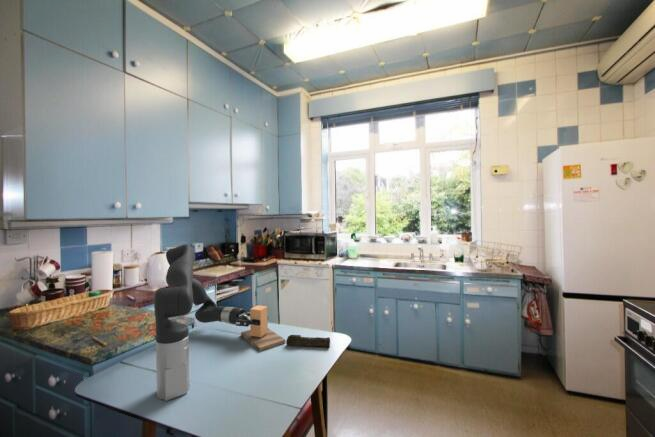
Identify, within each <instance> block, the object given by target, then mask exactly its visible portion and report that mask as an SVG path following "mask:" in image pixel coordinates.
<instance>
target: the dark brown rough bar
mask: <svg viewBox="0 0 655 437" xmlns="http://www.w3.org/2000/svg"><path fill="white" fill-rule="evenodd" d="M285 344H286V345H287V346H290V347H297V348H299V347H301V346H303V347H304V346H306V347H321V348H322V347H323V348H324V347H325V348H328V349H330V345H331V338H330V337H320V336H319V337H310V336H309V337H308V336H307V337H306V336H302V335H301V334H290V335H288V336H287V338H286V340H285Z"/></svg>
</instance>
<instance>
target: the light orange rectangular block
mask: <svg viewBox="0 0 655 437" xmlns="http://www.w3.org/2000/svg"><path fill="white" fill-rule="evenodd" d="M249 312H250V318H251V319H256V320H260V321H261V324H260V325H259V326H258V325H250V330H251V336H256V337H262V336H263V335H265V334H266V333H268V329H269V327H268V320H267V316H268V306H265V305H255V306H254V307H253V306H252V308H250V311H249Z"/></svg>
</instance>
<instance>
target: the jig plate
mask: <svg viewBox="0 0 655 437" xmlns="http://www.w3.org/2000/svg"><path fill="white" fill-rule="evenodd" d="M240 336H241V337H242V338H244V340H246V341H247V343H249V344H250V345H252V346H253V347H254V348H255V349H256V350H258V351H259V352H262V351H266V350H268V349H271V348H274V347H278V346H280V345H283V344H286V339H285V338H284V337H282V336H281V335H279V334H278V333H276V332H275V331H273V330H271V329H270V328H268V333H266V334H265V335H263V336H262V337H256V336H251V329H248V330H245V331H241V332H240Z"/></svg>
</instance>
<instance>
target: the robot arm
mask: <svg viewBox="0 0 655 437" xmlns="http://www.w3.org/2000/svg"><path fill="white" fill-rule="evenodd" d="M165 258H166V261H167V264H168V265H169V267H168V269H167V271H166V274H165V275H166V276H165V281H166V284H167V285H168V287H165V288H159V289H157V290H156V292H155V294H154V300H153V308H154V318H155V321H154V322H155V359H156V360H155V364H156V365H155V368H156V369H155V371H156V373H155V374H156V396H157V398H158V399H160V400H164V401H165V402H167V401H171V400H173V399H175V398H178V397H182V396H183V395H186V394H188V390H189V388H190V351H189V350H190V346H189V344H190V341H189V340H190V338H189V333H190V332H189V331H190V330H189V327H188V325H187V324H185V323H181V322H177V321H173V320H171V319H170V318H177V317H182V316H185V315H188V314H190V312H191V311H192V308H193V305H194V306H199V305H201V306H200V307H199V308H198V309H197V310H196V311H195V313H194V317H195V320H196V321H197V322H199V323H203V324H204V323H205V324H207V323H214V322H220V323H224V324H228V325H234V326H236V327H246V328H247V327H249V326H251V325H258V326H259V325H260V324H261V321H260V320H256V319H251V318H250V311H248V312H247V311H246V309H244V308H242V307H241V308H240V307H234V306H222V305H217V304H216V303H215V301H214V300H213V299H212V298H211V297H210V296H209V295H208V293H207V291H206V289H205V287H204V285H203V283H202V282H200V281H199V280H198V279H196V278H195V277H194V266H195V265H194V264H195V261H196V252H195V249H194V247H192V246H191V245H190V244H187V243H186V244H182V245H179V246H177V247H176V246H175V247H173V248H171V249H169V250H167V251H166V252H165ZM268 320H269V315H267V321H268Z"/></svg>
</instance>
